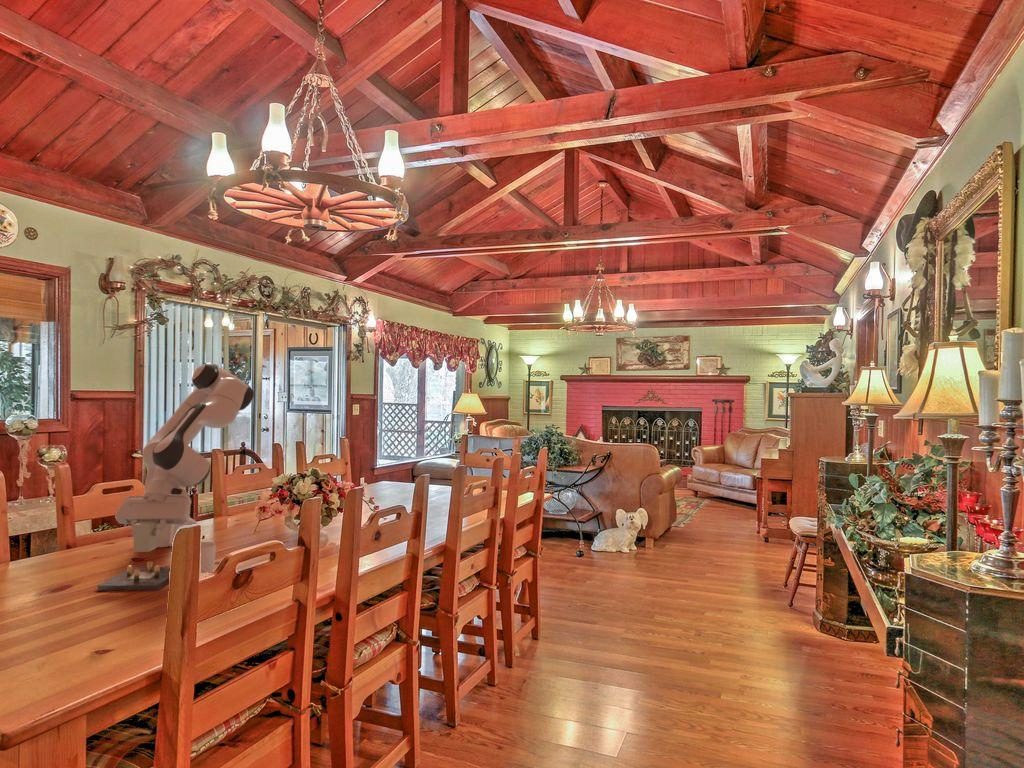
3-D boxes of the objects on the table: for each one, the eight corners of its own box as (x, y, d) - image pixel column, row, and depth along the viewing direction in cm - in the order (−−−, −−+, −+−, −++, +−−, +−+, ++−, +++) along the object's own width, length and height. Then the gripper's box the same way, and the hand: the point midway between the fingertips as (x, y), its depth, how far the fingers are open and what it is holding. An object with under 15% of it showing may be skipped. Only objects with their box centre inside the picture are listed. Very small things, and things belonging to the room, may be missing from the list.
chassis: (130, 571, 195) (131, 557, 195) (184, 571, 197) (184, 557, 197) (97, 590, 177) (98, 574, 177) (156, 590, 179) (157, 574, 179)
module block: (141, 547, 189) (141, 521, 189) (156, 547, 189) (157, 521, 189) (133, 551, 185) (134, 524, 185) (149, 551, 185) (150, 524, 185)
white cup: (220, 574, 195) (221, 542, 195) (205, 582, 187) (206, 548, 187) (196, 573, 196) (197, 541, 196) (180, 580, 188) (181, 547, 188)
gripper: (122, 490, 193) (103, 529, 183) (191, 490, 195) (176, 529, 185) (129, 501, 197) (111, 540, 188) (196, 501, 199) (182, 540, 190)
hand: (144, 534), depth 186 cm, fingers closed on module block, 4 cm apart
